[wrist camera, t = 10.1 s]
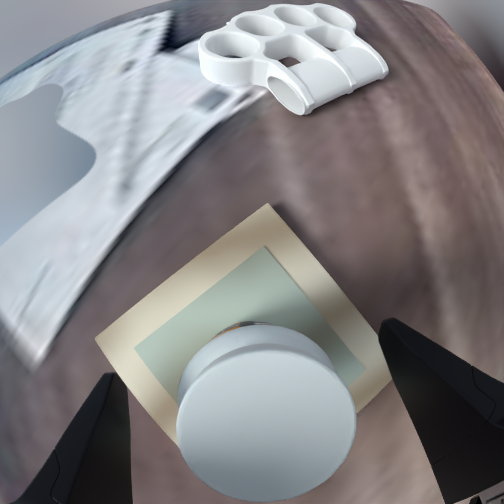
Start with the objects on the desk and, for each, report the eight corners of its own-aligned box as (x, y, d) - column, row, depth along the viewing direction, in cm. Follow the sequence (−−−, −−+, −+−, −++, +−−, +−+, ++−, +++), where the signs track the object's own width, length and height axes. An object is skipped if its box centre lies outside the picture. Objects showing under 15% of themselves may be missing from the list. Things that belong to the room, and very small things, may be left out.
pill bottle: (218, 308, 16) (188, 293, 7) (313, 335, 16) (402, 352, 7) (191, 398, 15) (136, 482, 5) (284, 423, 15) (330, 522, 5)
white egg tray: (269, 142, 21) (176, 54, 23) (397, 77, 24) (306, 11, 26) (274, 114, 18) (171, 29, 20) (409, 57, 21) (310, -9, 23)
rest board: (395, 366, 17) (403, 368, 16) (235, 492, 15) (235, 500, 13) (266, 208, 19) (267, 202, 18) (101, 337, 17) (93, 338, 16)
